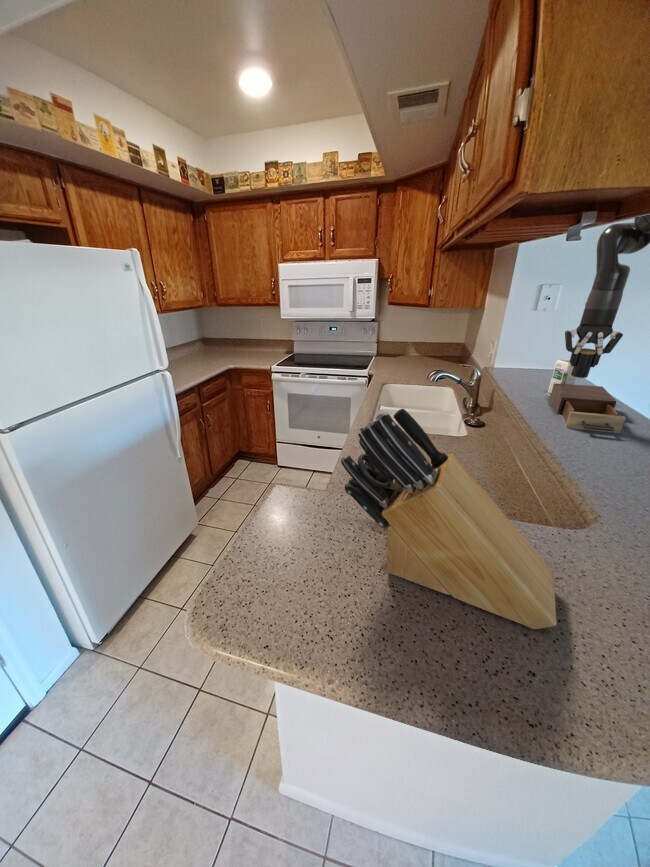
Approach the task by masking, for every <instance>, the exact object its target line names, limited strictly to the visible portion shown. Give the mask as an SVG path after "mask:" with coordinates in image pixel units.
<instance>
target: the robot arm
mask: <svg viewBox="0 0 650 867" xmlns="http://www.w3.org/2000/svg"><path fill="white" fill-rule="evenodd" d="M649 244H650V215H646V216H641V217H636V218H635V217H634V222H621V223H619V222H618V223H613V224H611V225H609V226H608V227H606V228H605V229H604V230H603V231H602V233H601V234H600V235H599V237H598V241H597V244H596V270H595V271H596V274H595V277H594V279H593V283H592V286H591V290H590V292H589V295H588V296H587V299H586V302H585V305H584V309H583V312H582V315H581V319H580V322H579V325H578V326H577V327H576V329H572V330H566V331H564V340H565V350H566V351H567V352H569V353H571V354H570V358H569V360H570V361H569V362H570V364H571V365H572V366H575V365H576V362H577V359H578V356H579V354H578V353H579V352H580V350H581V349H582V348H584V346H585V345H586V344H593V345H594V350H597V352H596V354H595V357H594V359H593V362H592V365H591V368H595V367H596V366H598V365H599V363H600V360H601V356H603V355H605V354H610V353H611V352H612V351H613V350H614V349H615V347H616V346H617V345H618V343H619V341H620V340H621V339H622V338H623V336H624V334H623V333H622V332H621V331H615V330H614V329H613V325H614V322H615V320H616V317H617V314H618V311H619V308H620V305H621V302H622V298H623V294H624V291H625V290H624V289H625V288H626V286H627V285H626V284H627V282H628V278H629V276H630V272H631V266H629V265H627V264H624V263H623V264H622V263H620V262H619V255H631V254H634V253H637V252H639V251H642V250H643V249H645V248H646V247H647V246H649ZM575 335H577V336H578V340H577V341H576V342H575V345H574V347H573V338H575ZM609 336H610V337H609ZM608 337H609V338H610V339H609V341H608V342H607V344H606V345H605V346H604V340H605V339H606V338H608Z"/></svg>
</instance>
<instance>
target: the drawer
mask: <svg viewBox="0 0 650 867" xmlns="http://www.w3.org/2000/svg"><path fill="white" fill-rule="evenodd" d="M560 414H561V415H562V417H563V419H564V421H565V428H566V429H574V430H575V429H576V430H585V431H595V432H596V431H597V432H605V433H613V434H620V433H621V431H622V429H623V426H624V425H625V424H624V423H625V421H626V419H627V417H626V416H625V415H620V414H619V412H617V411H616V409H615V407H614V408H613V407H612V406H611V405H610V404H609V403H598V402H586V401H573V400H564V403H563V406H562V409H561V413H560Z"/></svg>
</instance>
